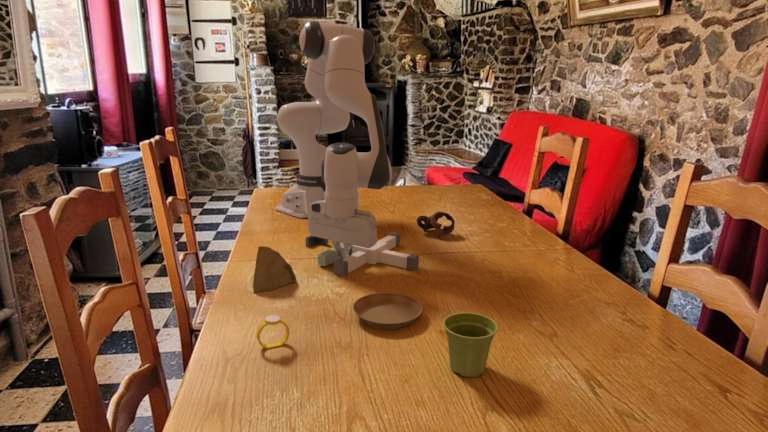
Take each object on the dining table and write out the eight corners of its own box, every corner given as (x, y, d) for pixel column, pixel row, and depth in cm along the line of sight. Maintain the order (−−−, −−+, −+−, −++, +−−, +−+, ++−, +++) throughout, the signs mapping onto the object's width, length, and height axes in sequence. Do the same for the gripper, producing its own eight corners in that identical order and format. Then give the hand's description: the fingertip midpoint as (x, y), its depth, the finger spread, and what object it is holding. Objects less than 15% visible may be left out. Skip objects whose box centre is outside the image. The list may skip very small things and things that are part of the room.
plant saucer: (370, 297, 120) (370, 287, 119) (431, 309, 115) (431, 299, 114) (340, 326, 107) (340, 314, 106) (407, 341, 101) (408, 329, 101)
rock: (299, 266, 131) (259, 261, 130) (300, 248, 124) (258, 242, 123) (293, 304, 125) (251, 300, 124) (293, 287, 118) (249, 282, 117)
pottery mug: (447, 230, 171) (456, 212, 165) (448, 250, 164) (457, 233, 159) (413, 221, 170) (421, 203, 164) (412, 241, 163) (420, 223, 157)
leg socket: (305, 246, 152) (305, 237, 151) (316, 241, 156) (315, 233, 156) (318, 249, 150) (317, 240, 149) (328, 244, 154) (328, 236, 153)
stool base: (321, 270, 135) (321, 256, 133) (380, 240, 158) (380, 227, 157) (387, 288, 125) (387, 272, 124) (439, 252, 148) (440, 239, 147)
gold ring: (286, 341, 101) (287, 313, 99) (290, 347, 99) (291, 319, 97) (255, 345, 98) (255, 316, 97) (258, 352, 96) (259, 323, 95)
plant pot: (436, 354, 96) (438, 312, 94) (485, 353, 97) (489, 311, 95) (446, 384, 87) (448, 338, 85) (500, 382, 88) (505, 337, 86)
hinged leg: (347, 250, 149) (347, 239, 148) (354, 251, 148) (354, 241, 147) (318, 264, 137) (317, 253, 137) (325, 266, 136) (325, 255, 135)
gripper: (382, 210, 132) (381, 261, 136) (318, 198, 142) (319, 246, 146) (368, 215, 127) (368, 268, 131) (303, 203, 137) (305, 253, 141)
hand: (342, 256), depth 138 cm, fingers closed
